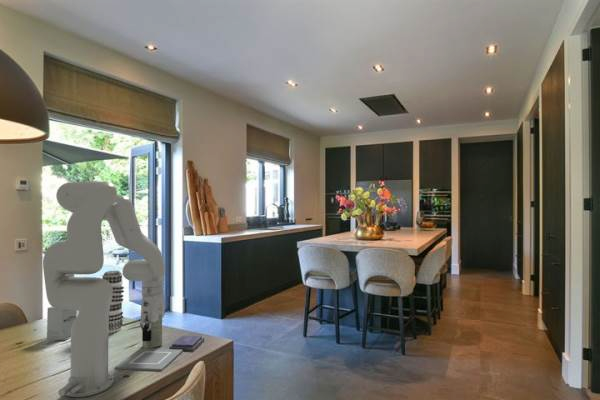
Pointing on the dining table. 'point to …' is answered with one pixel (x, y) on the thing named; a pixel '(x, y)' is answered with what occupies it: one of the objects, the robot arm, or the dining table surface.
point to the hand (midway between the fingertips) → (152, 336)
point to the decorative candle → (115, 300)
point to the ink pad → (187, 343)
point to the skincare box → (154, 334)
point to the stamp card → (149, 359)
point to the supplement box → (59, 323)
